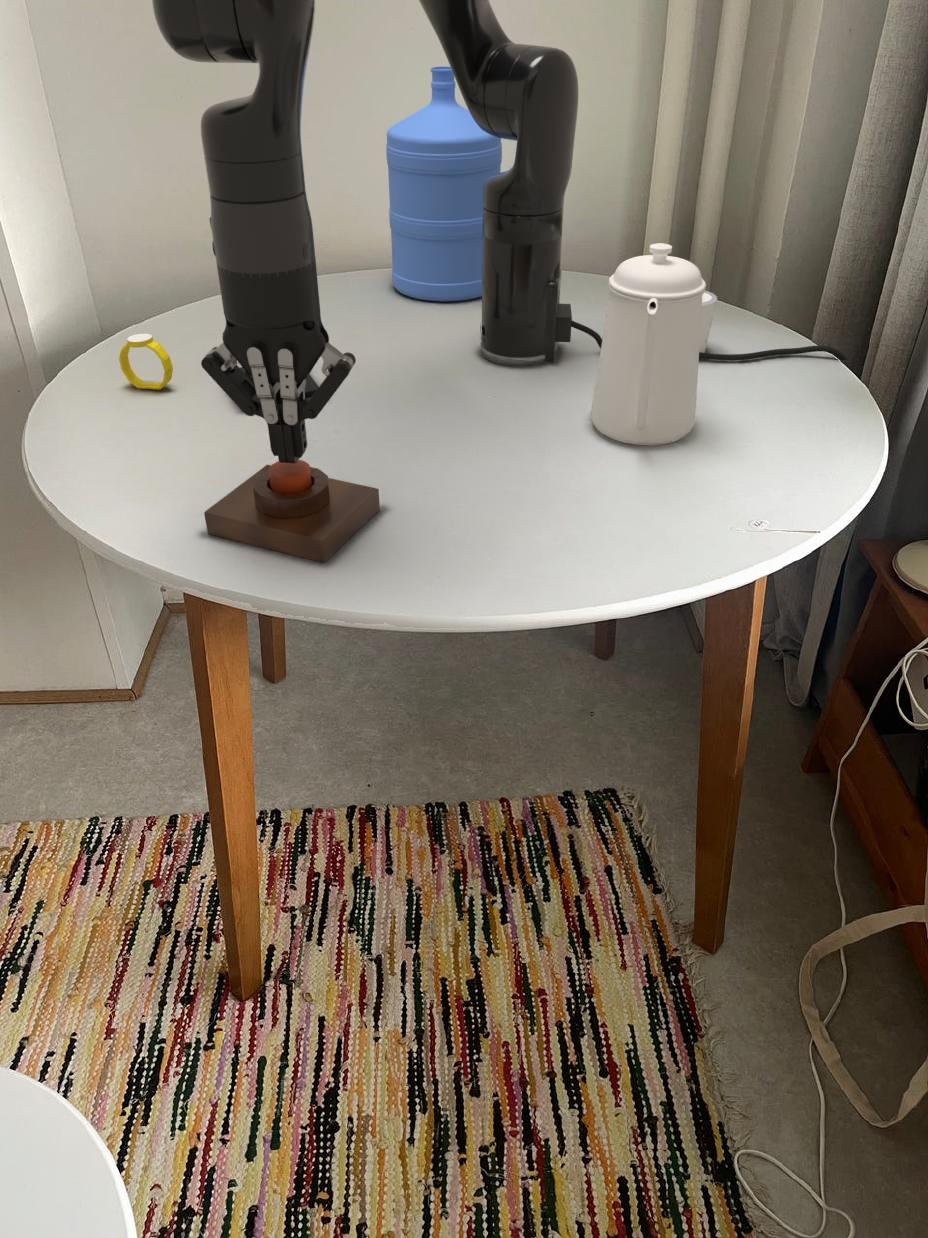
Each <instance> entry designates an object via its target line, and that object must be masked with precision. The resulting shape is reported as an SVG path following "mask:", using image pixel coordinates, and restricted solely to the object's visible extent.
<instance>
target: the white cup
mask: <svg viewBox="0 0 928 1238" xmlns="http://www.w3.org/2000/svg"><path fill="white" fill-rule="evenodd" d="M717 302H718V296H717V295H716V294H715V293H713V292H712V291H711V292H710V291H708V290H705V292H704V294H703V295H702V312H701V328H700V345H699V352H701V353H706V349H707V343H708V340H709V336H710V333H711V329H712V328H711V327H712V323H713V320H714V315H715V311H716V306H717Z"/></svg>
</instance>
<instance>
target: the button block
mask: <svg viewBox="0 0 928 1238" xmlns="http://www.w3.org/2000/svg"><path fill="white" fill-rule="evenodd" d="M271 465H272V464H266V465H264V466H263V467H261V468H260V469H259V470H258V471H256V473H254V474H253V475H251V476H250V477H249V478H247V479H246V480H245V481H243V482H242V483H240V485H238V486H237V487H235V488H234V489H233V490H231V491H230V492H228V494H226V495H224V497H222V498H221V499H219V500H218V501H217V502H216V503H214V504H213V505H212V506H210V507H209V508H207V509H206V510H205V511H204V512H203V514H204V520H205V526H206V531H207V534H209V535H212V536H215V537H220V538H224V539H228V540H233V541H235V542H240V543H244V544H247V545H252V546H254V547H255V546H256V547H258V548H259V547H260V548H264V549H268V550H272V551H276V552H280V553H283V554H288V555H292V556H296V557H300V558H304V559H308V560H311V561H316V562H319V563H322V564H323V563H324V564H325V563H327V561H328V560H330V559H331V557H332V556H334V555H335V554H336V553H337V552H338V551H339V550H340V549H341V548H342V547H343V546H344V545H345V544H346V543H347V542H348V541H349V540H350V539H351V538H353V536H354V535H355V534H356V533H358V531H359V530H361V529H362V528H363V526H364V525H365V524H366V523H368V522H369V521H370V520H371V519H372V518H373V517H374V516H376V514H377V513H378V512H379V511H380V510H381V504H380V489H379V488H377V487H373V486H367V485H364V484H363V485H362V484H359V483H354V482H350V481H345V480H340V479H336V478H331V477H329V476H328V474H326V473H325V472H324V471H322V470H321V469H320V468H317V467H313V466H310V472H311V481H312V486H311V487H310V488H309V489H308V490H305V491H302V492H299V493H293V494H281V493H277V492H273V491H272V490H271V486H270V479H269V467H270V466H271Z"/></svg>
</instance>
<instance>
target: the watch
mask: <svg viewBox="0 0 928 1238" xmlns="http://www.w3.org/2000/svg"><path fill="white" fill-rule="evenodd" d="M126 342H127V343H125V344H124V345H123V346H122V347H121V348H120V353H119V357H118V358H119V359H118V360H119V365H120V369H121V372H122V373H123V375H124V376H125V379H126V380H127V381H128V382H129V383H130V384H132V385H133V386H134V387H136V389H141V390H142V389H143V390H145V389H146V390H157V391H160V390H162V389H163V388H164V387H166V386H167V385H168V384H169V382H170V381H171V380H172V378H173V370H174V366H173V363H172V360H171V356H170V355H169V353H168V352H167V351H166V350H165V348H164V347H163V345H161V344H160V343H159V342H157V341H155V340H154V337H153V335H152V334H150V333H137V334H132V335H130V336H128V337H127V338H126ZM144 347H146V348H148V349H149V350H151V351H153V352H154V353H155V355H156V356H157V357H158V359H159V360H160V362H161V365H162V367H163V370H164V372H163V379H162V382H148V381H144V380H142V378H140V377H139V376H137V374H136V373H135V371H134V369H133V368H132V367H131V364H130V360H129V352H130V349H131V348H144Z"/></svg>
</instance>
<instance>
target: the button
mask: <svg viewBox="0 0 928 1238" xmlns="http://www.w3.org/2000/svg"><path fill="white" fill-rule="evenodd" d="M270 465H271V466H270V467H269V479H270V486H271V490H272V491H273V492H277V493H281V494H293V493H299V492H302V491H305V490H308V489H309V488H310V487H311V486H312V481H311V472H310V467H311V466H310V464H309V463H308V462H306V461H305V460H302V459H299V460H298V462H297V463H296V464H295V463H280V462H279V460H278V461H276V462H274V463H272V464H270Z"/></svg>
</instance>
